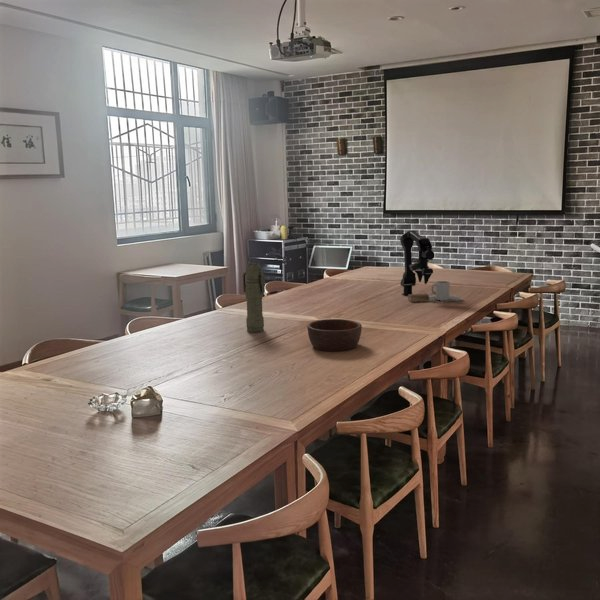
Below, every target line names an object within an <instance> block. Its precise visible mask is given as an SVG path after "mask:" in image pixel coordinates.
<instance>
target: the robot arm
mask: <svg viewBox="0 0 600 600" xmlns="http://www.w3.org/2000/svg"><path fill="white" fill-rule="evenodd" d="M399 240H400V244H401V246H402V249H403V252H404V253H403V256H404V257H403V258H404V272H403V274H402V278H401V280H400V286H401V287H402V288H403V292H402V293H401V295H403V296H405V297H406V296H408V295H410V294H413V287H414V286H416V283H417V279H418V283H421V282H422V280H423V282H424V285H427V283H428V282H429V279H430V278H431V276H432V275H433V274H434V270H433V269H434V268H431V267H430V266H428V264H429V262H430V261H433V260H434V259H435V252H434V251H433V245H432V243H431V240H430V239H429V237H425V236H423V235H420V234H419V233H418V232H417V231H416V230H407V231H406V232H405V233H404V234H402V235H401V237H400V239H399ZM414 242H415V243H416V246H417V251H418V252H417V253H418V256H417V257H418V259H417V260H416V262H413V260H412V259H413V257H412V256H413V255H412V248H413V246H414V244H415V243H414Z"/></svg>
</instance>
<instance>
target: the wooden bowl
mask: <svg viewBox="0 0 600 600" xmlns="http://www.w3.org/2000/svg"><path fill="white" fill-rule="evenodd" d="M362 327H363V326H362V324H361V323H360V322H359V321H356V320H352V319H351V320H350V319H342V318H341V319H340V318H328V319H320V320H319V319H318V320H314V321H311V322H310V323H309V322H308V324H307V334H308V338H309V341H310V344H311V345H312V347H313V348H314V349H316V350H319V351H323V352H345V351H349V350H352V349H354V347H355V348H356V347H357V345H358V344H359V342H360V339H361V335H362V329H363V328H362Z"/></svg>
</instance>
